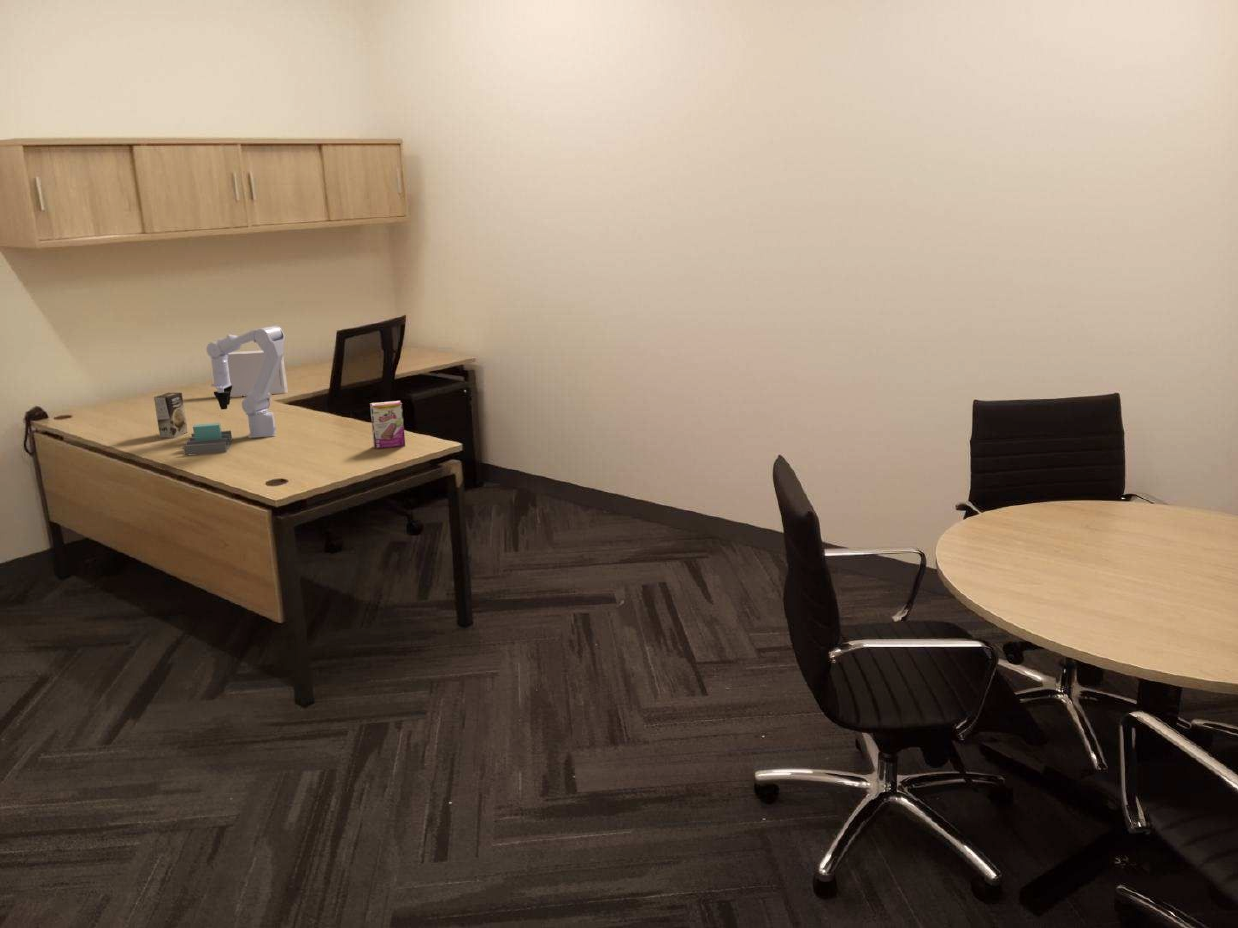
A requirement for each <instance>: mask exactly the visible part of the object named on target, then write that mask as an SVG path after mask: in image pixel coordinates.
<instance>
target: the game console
mask: <svg viewBox="0 0 1238 928" xmlns="http://www.w3.org/2000/svg"><path fill="white" fill-rule="evenodd" d="M266 356H267V355H266V354H265V353H264V352H263V350H262V349H261V350H250V351H249V350H245V351H233V352H231V353H229V354H228V359H227V361H228V368H229V376H230V383H231V385H232V389H231V394H230V399H231V397H232V398H243V397H242V396H244V397H247V395H248V394H249V393H250V392H251V391H252V390H253V389H254V386H255V384H256V381H257V379H258V376H259V374H260V371H261V368H262V366H263V363H264V361H265V358H266ZM288 391H289V390H288V383H287V374H286V367H285V357H284V356H283V357H282V360H281V362H280V365H279V367H278V370H277V372H276V375H275V377H274V380H273V382H272V385H271V387H270V390H269V393H270V394H271V395H278V394H279V395H280V394H287V393H288Z"/></svg>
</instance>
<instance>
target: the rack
mask: <svg viewBox="0 0 1238 928" xmlns="http://www.w3.org/2000/svg"><path fill="white" fill-rule="evenodd" d="M221 431H222V438H223V439H211V440H198V441H195V437H194V432H193V433H191V437H190V436H189V437H188V441H186V442H185V443H186V444H185V445H183V449H184V456H185V455H186V456H190V455H189V454H198V455H206V454H207V455H208V454H209V455H210V454H219V453H220V454H221V453H227V451H228V449H229V448H230V445H231V442H232V441H233V435H232V430H221Z"/></svg>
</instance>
